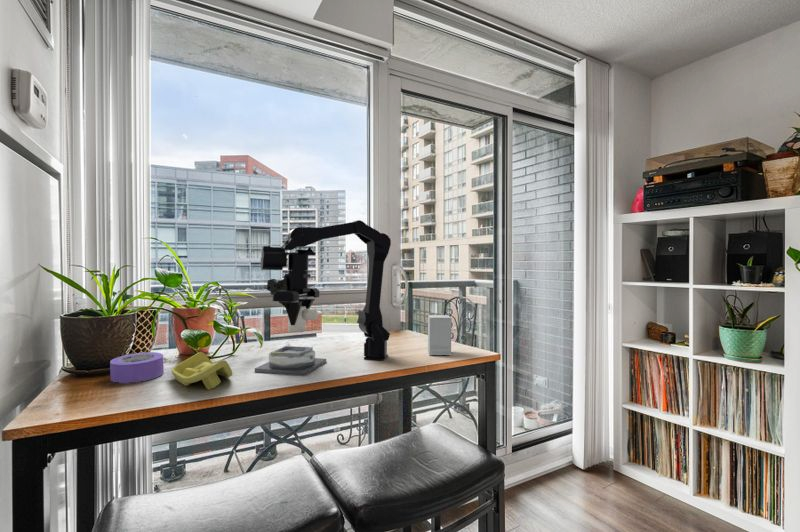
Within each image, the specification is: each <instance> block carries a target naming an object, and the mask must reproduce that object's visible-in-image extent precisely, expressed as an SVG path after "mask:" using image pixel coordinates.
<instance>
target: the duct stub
mask: <svg viewBox="0 0 800 532" xmlns="http://www.w3.org/2000/svg"><path fill="white" fill-rule="evenodd" d="M313 349H314V348H313V346H312V347H311V346H297V345H296V346H295V345H294V346H293V345H285V346H282V347H279V348H277V349H275V350H273V351H270V352H269V353H268V361H267V362H266V363H263V364H262V365H261V364H260V365H259V366H257V367H255V368H254V373H262V374H263V373H265V374H276V375H277V374H278V375H291V376H307V375H308V374H310V373H312V372H314V371H315V370H316V369H318V368H319V367H321V366H323V365H324V364H325V363H327V358H319V357H318V358H316V351H315V350H313Z"/></svg>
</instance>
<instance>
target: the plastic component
mask: <svg viewBox="0 0 800 532" xmlns="http://www.w3.org/2000/svg"><path fill="white" fill-rule="evenodd" d="M170 372H171V374H172V375H173V377H174V378H175V381H178V382H179V383H180V384H182V385H184V386H185V387H187V386H190V385H191V384H193V383H197V382H199V381H201V382H202V383H203V385H204V386H205V388H206V390H211V389H214V388H215V387H217V386H219V384H221V382H222V381H221V379H220V378H219V376H221V377H223V378H230V377H232V376H233V371H232V369H231V366H230V365H229V363H228V361H227V360H225V359H221V360H218V361H217V362H212V361H211V360H210V358H209V357H208V356H207V355H206V353H204V352H202V351H200V352H197V353H196V354H193V355H192V356H190V357H188V358H187V359H185V360H183V361H181V362H180V363H179V364H177V365H175V366H174V367H172V369H171V370H170ZM218 375H219V376H218Z"/></svg>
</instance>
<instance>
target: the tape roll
mask: <svg viewBox="0 0 800 532" xmlns="http://www.w3.org/2000/svg"><path fill="white" fill-rule="evenodd" d="M109 366H110V367H109V370H110V373H109V375H110V382H111V381H113V382H112V383H114V382H119V383H118V384H130V383H129V382H136V383H142V382H141V381H143V382H147V381H150V380H153V379H157V378H159V377H161V376H162V375H164V373H165V371H164V354H163V353H160V352H153V351H152V352H151V351H149V352H146V351H145V352H138V353H136V352H135V353H130V354H125V355H122V356H117V357H115V358H112V359H111V360H110V361H109ZM146 380H147V381H146Z"/></svg>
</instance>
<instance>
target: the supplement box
mask: <svg viewBox="0 0 800 532" xmlns="http://www.w3.org/2000/svg"><path fill="white" fill-rule="evenodd" d="M427 353H428V356H430V355H450V354H451V355H452V317H451V316H450V315H448V314H445V315H444V314H440V315H439V314H433V315H432V314H429V315H428V318H427Z"/></svg>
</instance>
